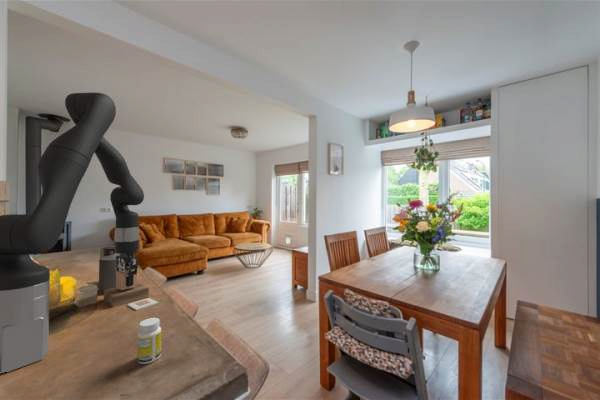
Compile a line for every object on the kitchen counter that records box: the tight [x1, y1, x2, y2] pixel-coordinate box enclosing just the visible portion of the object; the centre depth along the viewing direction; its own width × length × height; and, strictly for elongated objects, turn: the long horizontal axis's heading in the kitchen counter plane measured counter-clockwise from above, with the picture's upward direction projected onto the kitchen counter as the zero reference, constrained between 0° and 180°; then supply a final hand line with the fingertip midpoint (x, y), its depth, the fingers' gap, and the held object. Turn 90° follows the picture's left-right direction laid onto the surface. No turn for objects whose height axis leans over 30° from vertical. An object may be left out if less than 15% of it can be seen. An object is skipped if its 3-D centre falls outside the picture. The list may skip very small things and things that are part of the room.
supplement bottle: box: [136, 317, 162, 365], centre depth 56 cm, size 5×5×8 cm
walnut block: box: [103, 282, 150, 308], centre depth 91 cm, size 11×11×4 cm
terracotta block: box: [116, 270, 138, 290], centre depth 91 cm, size 5×5×6 cm
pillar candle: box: [98, 254, 119, 295], centre depth 101 cm, size 10×10×15 cm
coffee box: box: [99, 245, 120, 259], centre depth 111 cm, size 9×6×16 cm
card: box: [126, 297, 159, 311], centre depth 86 cm, size 7×7×1 cm
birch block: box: [75, 283, 98, 308], centre depth 87 cm, size 5×5×6 cm
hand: (126, 284), depth 91 cm, fingers closed on terracotta block, 5 cm apart
